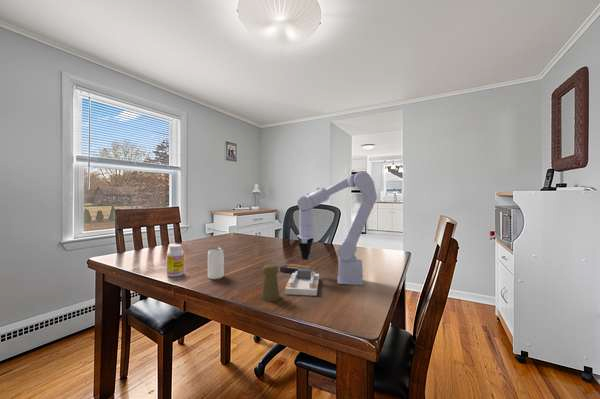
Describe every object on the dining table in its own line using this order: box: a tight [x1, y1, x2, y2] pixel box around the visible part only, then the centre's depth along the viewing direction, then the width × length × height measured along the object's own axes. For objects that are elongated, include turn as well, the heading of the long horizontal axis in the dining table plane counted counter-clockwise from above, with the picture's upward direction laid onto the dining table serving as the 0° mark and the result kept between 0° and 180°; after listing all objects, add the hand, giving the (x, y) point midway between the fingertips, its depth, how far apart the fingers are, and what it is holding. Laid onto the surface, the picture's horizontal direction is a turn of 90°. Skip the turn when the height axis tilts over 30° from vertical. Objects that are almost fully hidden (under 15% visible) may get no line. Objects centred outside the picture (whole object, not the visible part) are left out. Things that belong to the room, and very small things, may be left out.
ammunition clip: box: [279, 263, 311, 273], centre depth 117 cm, size 11×2×12 cm
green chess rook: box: [261, 263, 280, 302], centre depth 84 cm, size 6×6×11 cm
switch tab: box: [297, 267, 312, 279], centre depth 99 cm, size 5×4×3 cm
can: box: [207, 247, 225, 280], centre depth 106 cm, size 6×6×12 cm
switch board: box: [284, 271, 320, 296], centre depth 95 cm, size 11×18×4 cm, turn 173°
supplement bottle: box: [166, 243, 185, 278], centre depth 109 cm, size 7×7×13 cm
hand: (306, 257), depth 106 cm, fingers open, 7 cm apart
